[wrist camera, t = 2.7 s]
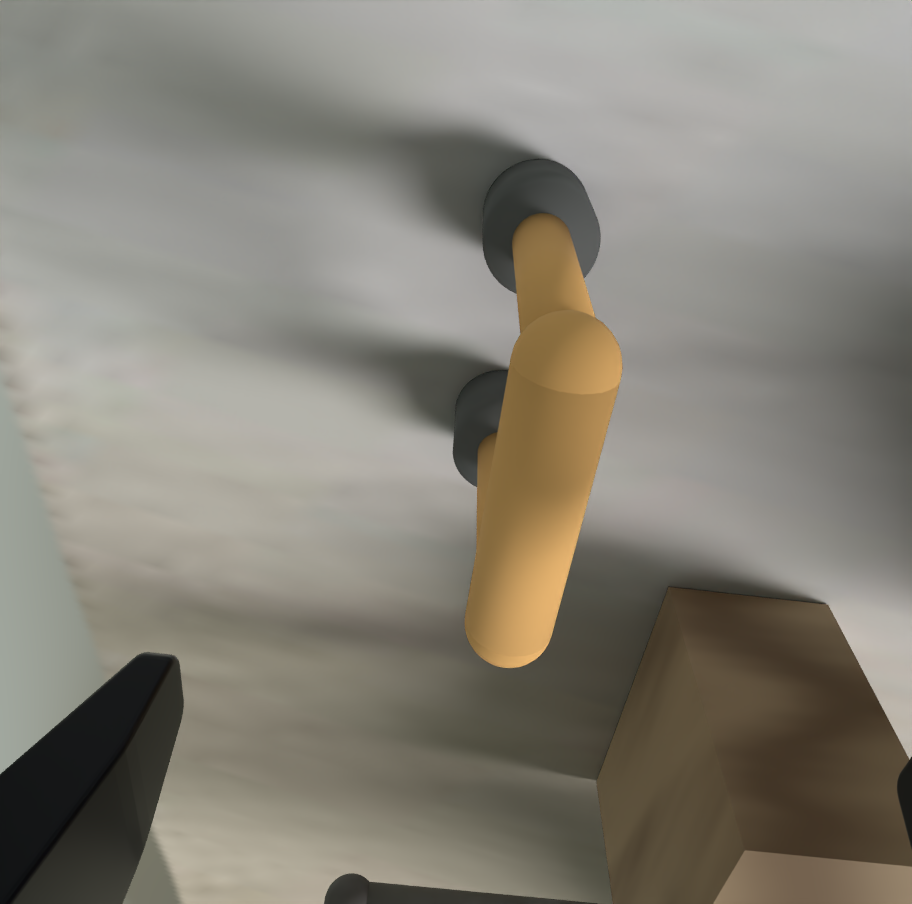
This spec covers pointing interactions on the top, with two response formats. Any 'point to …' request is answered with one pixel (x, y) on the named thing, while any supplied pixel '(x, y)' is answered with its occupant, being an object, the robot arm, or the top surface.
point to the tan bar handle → (535, 411)
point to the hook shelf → (738, 769)
